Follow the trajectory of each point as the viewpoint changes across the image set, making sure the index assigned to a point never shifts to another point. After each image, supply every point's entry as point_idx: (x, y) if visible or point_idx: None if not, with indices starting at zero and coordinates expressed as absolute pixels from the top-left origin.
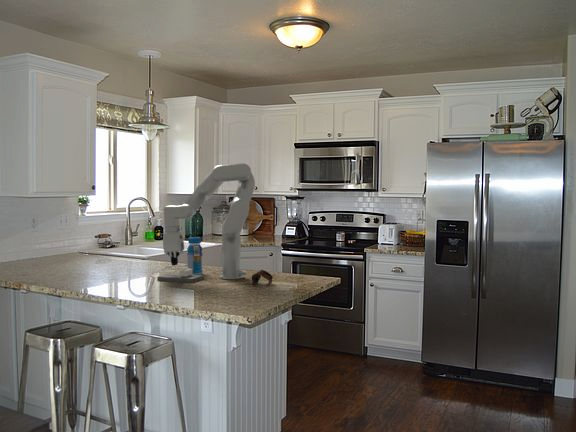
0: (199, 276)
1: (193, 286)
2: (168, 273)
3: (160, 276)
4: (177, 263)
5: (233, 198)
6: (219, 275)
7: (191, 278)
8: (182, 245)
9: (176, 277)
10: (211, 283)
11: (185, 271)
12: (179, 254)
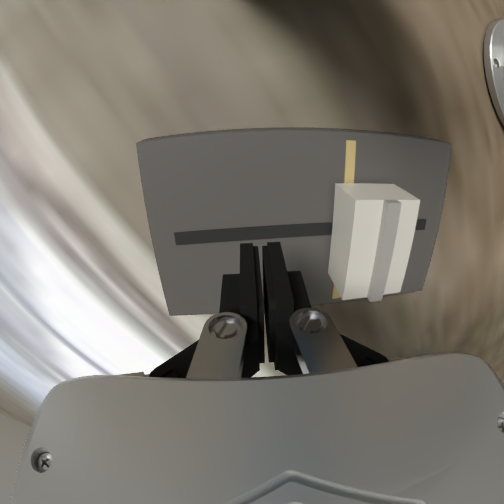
0: (442, 207)
1: (423, 333)
2: (142, 169)
3: (181, 302)
4: (280, 244)
5: None
6: (494, 84)
7: (413, 283)
8: (491, 448)
9: (314, 294)
10: (481, 252)
11: (388, 289)
12: (368, 352)
